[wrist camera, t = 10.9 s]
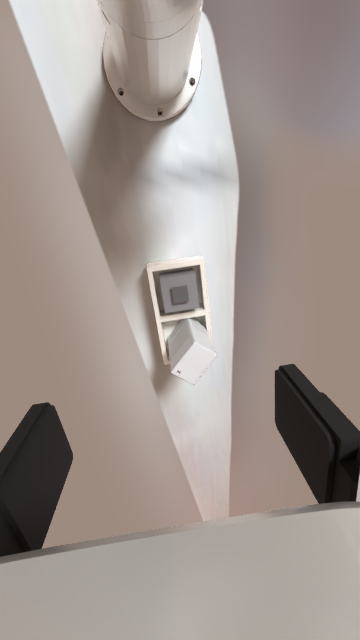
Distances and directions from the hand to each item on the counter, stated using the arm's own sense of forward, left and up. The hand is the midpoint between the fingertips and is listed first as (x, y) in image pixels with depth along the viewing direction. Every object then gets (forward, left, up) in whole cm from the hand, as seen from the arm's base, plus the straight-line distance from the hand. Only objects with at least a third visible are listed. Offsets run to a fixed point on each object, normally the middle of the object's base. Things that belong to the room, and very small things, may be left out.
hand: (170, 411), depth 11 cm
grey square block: (+4, +2, -36) cm, 37 cm away
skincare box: (+12, +2, -36) cm, 38 cm away
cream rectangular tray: (+8, +2, -36) cm, 37 cm away
